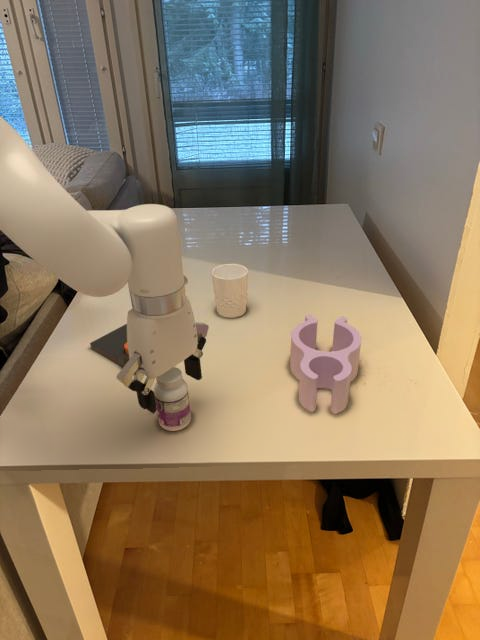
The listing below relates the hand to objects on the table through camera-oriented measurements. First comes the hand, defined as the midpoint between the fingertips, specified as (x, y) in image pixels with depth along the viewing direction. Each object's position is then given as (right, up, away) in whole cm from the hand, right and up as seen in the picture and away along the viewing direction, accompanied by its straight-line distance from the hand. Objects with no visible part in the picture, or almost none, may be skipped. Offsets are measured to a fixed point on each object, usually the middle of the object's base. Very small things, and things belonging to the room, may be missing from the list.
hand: (172, 391), depth 73 cm
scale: (-9, +7, +23) cm, 26 cm away
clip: (+26, +1, +12) cm, 29 cm away
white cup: (+9, +13, +34) cm, 37 cm away
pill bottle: (0, -5, +3) cm, 6 cm away
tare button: (-10, +5, +16) cm, 19 cm away
